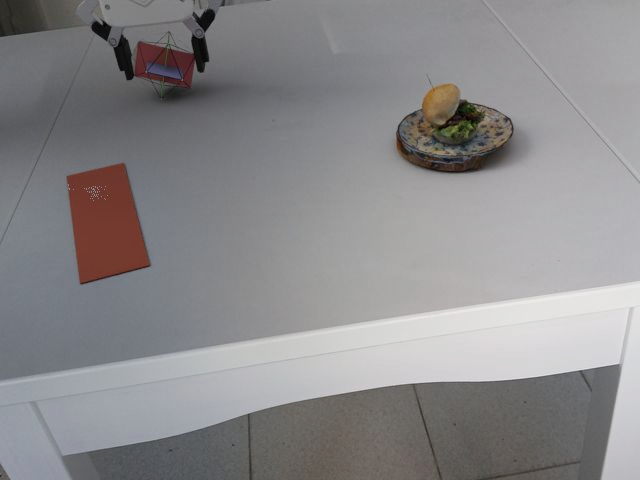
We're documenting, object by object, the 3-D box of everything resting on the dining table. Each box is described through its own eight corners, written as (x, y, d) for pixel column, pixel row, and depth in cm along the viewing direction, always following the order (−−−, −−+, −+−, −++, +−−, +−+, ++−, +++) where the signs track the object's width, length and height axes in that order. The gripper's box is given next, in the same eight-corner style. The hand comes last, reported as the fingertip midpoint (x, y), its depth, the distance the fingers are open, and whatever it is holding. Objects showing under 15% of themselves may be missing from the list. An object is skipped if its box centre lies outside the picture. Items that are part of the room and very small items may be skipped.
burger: (499, 179, 69) (505, 103, 64) (381, 166, 72) (377, 93, 67) (522, 121, 77) (529, 50, 72) (415, 112, 80) (414, 44, 75)
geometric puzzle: (209, 56, 91) (158, 8, 86) (211, 78, 86) (156, 28, 81) (172, 97, 93) (120, 52, 89) (171, 120, 88) (116, 74, 84)
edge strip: (80, 284, 62) (79, 283, 62) (66, 176, 76) (66, 175, 76) (149, 265, 63) (149, 264, 63) (123, 163, 77) (123, 162, 77)
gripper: (34, -76, 73) (89, 92, 85) (206, -94, 73) (237, 77, 85) (51, -93, 78) (100, 67, 90) (211, -110, 78) (239, 52, 90)
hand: (166, 71), depth 88 cm, fingers closed on geometric puzzle, 8 cm apart
